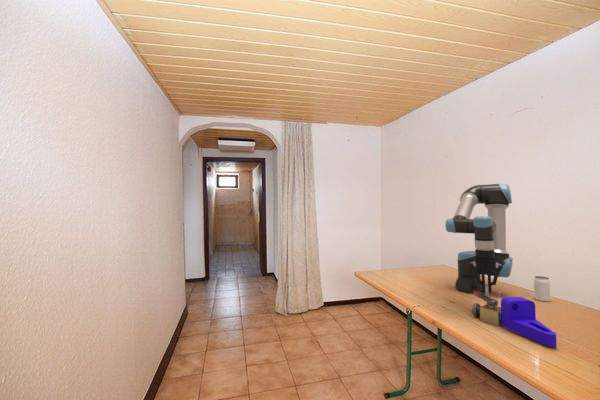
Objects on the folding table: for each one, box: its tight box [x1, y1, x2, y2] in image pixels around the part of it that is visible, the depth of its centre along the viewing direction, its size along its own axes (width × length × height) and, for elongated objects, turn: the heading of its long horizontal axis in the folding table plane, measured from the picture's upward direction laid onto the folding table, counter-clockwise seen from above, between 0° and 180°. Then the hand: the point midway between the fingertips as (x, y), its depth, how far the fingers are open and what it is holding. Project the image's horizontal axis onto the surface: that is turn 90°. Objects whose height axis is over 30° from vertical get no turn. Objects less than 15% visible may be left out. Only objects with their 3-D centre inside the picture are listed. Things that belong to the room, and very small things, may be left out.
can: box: [533, 275, 551, 303], centre depth 146 cm, size 6×6×12 cm
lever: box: [473, 291, 499, 307], centre depth 125 cm, size 15×4×2 cm, turn 174°
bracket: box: [500, 296, 557, 348], centre depth 106 cm, size 18×11×12 cm, turn 1°
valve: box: [471, 302, 502, 327], centre depth 120 cm, size 14×7×7 cm, turn 34°
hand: (487, 298), depth 127 cm, fingers closed
